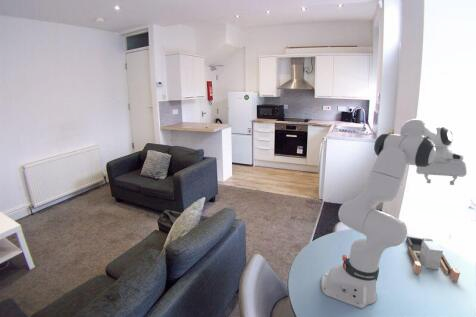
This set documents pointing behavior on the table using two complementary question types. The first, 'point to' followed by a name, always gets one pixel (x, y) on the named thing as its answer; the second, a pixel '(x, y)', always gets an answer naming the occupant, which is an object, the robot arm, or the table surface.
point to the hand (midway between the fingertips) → (440, 183)
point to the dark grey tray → (414, 243)
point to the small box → (430, 254)
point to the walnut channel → (441, 258)
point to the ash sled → (444, 268)
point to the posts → (453, 275)
